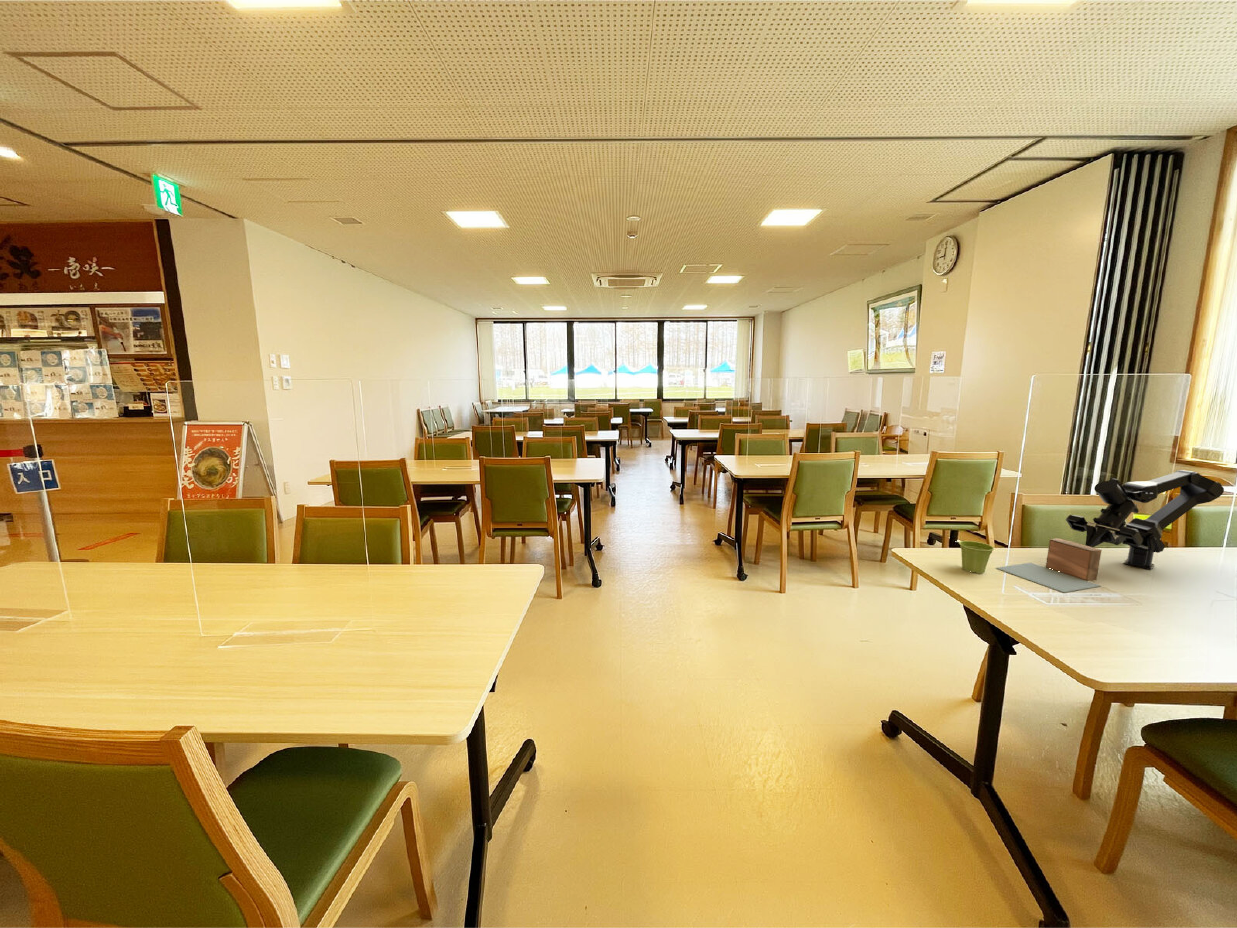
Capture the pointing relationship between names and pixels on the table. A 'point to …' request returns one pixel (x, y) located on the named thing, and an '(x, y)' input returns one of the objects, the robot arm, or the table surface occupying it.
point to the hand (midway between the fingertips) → (1087, 548)
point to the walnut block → (1073, 559)
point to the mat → (1048, 577)
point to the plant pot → (975, 555)
